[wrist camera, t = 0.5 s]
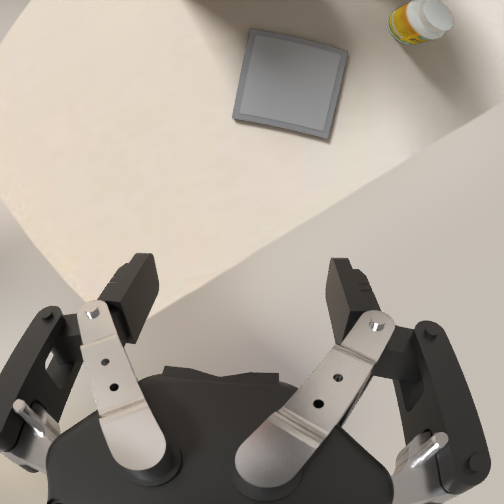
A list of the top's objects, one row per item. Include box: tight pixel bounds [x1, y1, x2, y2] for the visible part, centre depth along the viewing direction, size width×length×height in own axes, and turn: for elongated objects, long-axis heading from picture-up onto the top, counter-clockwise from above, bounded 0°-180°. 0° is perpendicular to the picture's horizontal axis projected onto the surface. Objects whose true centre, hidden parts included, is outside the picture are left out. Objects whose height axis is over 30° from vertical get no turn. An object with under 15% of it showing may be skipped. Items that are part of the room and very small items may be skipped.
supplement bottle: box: [387, 0, 453, 45], centre depth 22 cm, size 5×5×10 cm
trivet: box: [232, 29, 348, 139], centre depth 31 cm, size 12×12×1 cm
